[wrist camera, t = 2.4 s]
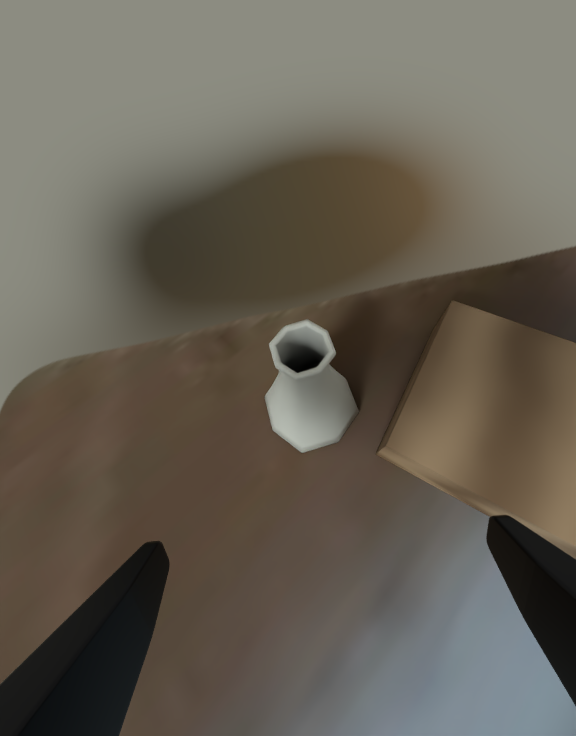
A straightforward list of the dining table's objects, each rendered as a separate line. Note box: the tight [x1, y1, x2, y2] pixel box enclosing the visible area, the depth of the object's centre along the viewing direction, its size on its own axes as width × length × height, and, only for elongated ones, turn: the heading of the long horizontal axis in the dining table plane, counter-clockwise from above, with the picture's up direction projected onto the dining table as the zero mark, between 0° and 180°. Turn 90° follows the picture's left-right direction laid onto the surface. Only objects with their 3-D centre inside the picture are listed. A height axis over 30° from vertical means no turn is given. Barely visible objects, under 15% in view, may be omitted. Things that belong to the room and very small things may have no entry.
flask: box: [264, 319, 359, 453], centre depth 19 cm, size 7×7×10 cm
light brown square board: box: [376, 300, 576, 559], centre depth 19 cm, size 12×12×4 cm
